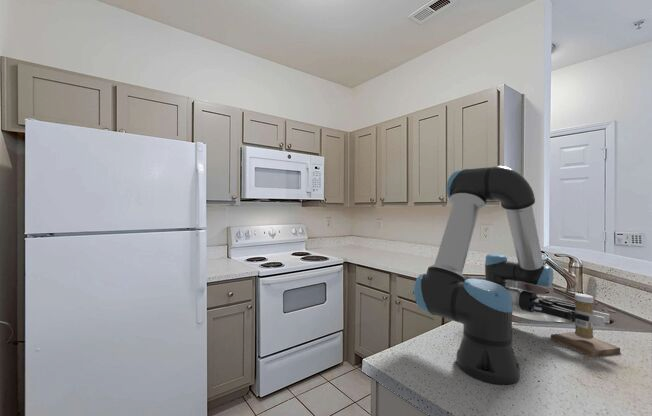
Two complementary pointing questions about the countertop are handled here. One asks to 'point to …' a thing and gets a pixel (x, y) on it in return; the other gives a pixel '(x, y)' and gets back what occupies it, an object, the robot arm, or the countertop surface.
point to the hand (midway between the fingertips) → (606, 320)
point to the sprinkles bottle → (584, 305)
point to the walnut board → (585, 344)
